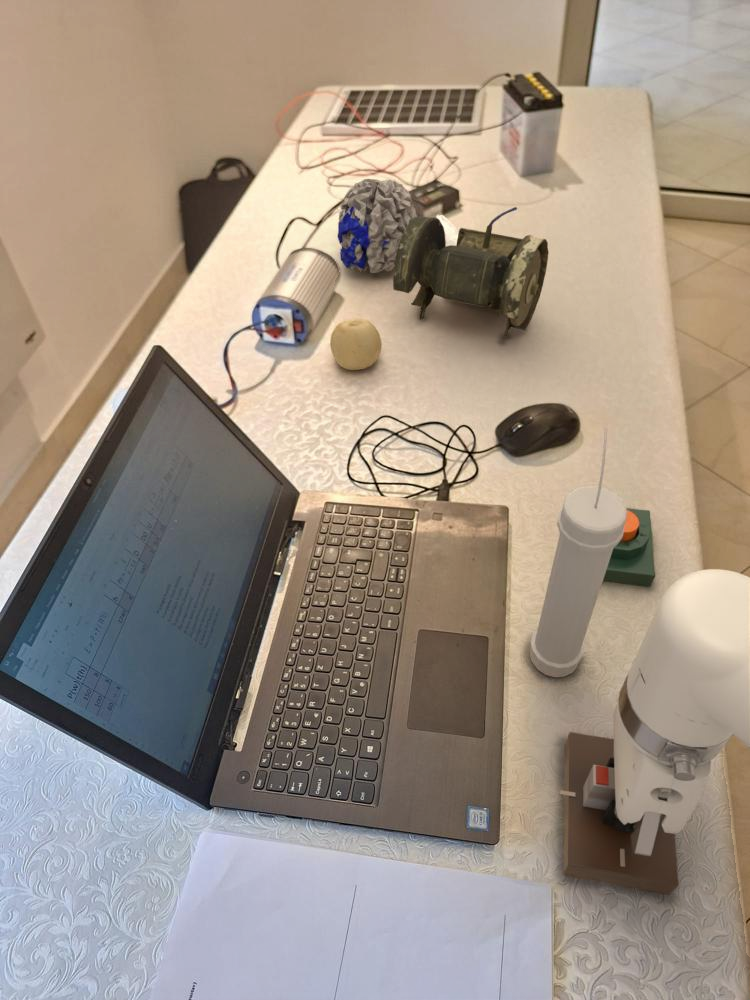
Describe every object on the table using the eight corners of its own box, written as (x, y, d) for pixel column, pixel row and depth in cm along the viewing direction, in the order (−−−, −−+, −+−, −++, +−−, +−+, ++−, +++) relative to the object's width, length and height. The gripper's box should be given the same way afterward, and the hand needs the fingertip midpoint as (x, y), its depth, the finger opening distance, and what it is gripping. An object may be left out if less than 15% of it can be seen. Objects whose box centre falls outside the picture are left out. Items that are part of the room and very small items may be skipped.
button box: (650, 587, 84) (659, 566, 81) (579, 578, 85) (585, 557, 82) (645, 522, 90) (653, 500, 87) (579, 514, 91) (585, 493, 89)
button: (636, 543, 83) (640, 534, 82) (604, 540, 84) (607, 530, 83) (635, 520, 86) (638, 510, 85) (603, 516, 86) (606, 507, 85)
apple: (346, 383, 110) (323, 338, 107) (342, 372, 118) (320, 329, 115) (392, 359, 110) (370, 313, 107) (385, 349, 117) (364, 306, 114)
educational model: (339, 296, 138) (321, 248, 124) (356, 207, 143) (340, 151, 129) (411, 300, 135) (401, 250, 121) (425, 209, 140) (417, 152, 126)
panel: (679, 897, 62) (690, 887, 60) (552, 873, 64) (557, 862, 61) (668, 761, 70) (677, 748, 68) (555, 743, 72) (560, 729, 69)
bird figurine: (422, 251, 139) (444, 263, 131) (426, 213, 136) (448, 223, 128) (446, 250, 141) (469, 262, 133) (449, 213, 137) (473, 223, 129)
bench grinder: (509, 358, 108) (550, 217, 100) (377, 317, 115) (405, 182, 106) (538, 341, 125) (575, 220, 117) (422, 307, 132) (449, 190, 124)
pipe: (527, 677, 77) (574, 480, 54) (527, 626, 81) (570, 424, 59) (581, 682, 76) (650, 485, 54) (578, 631, 80) (641, 429, 58)
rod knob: (657, 799, 65) (673, 776, 61) (659, 819, 64) (675, 797, 60) (583, 786, 66) (593, 763, 62) (583, 806, 65) (593, 784, 61)
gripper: (749, 838, 45) (671, 911, 59) (718, 617, 56) (657, 723, 69) (625, 815, 46) (576, 893, 60) (617, 604, 57) (577, 710, 71)
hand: (620, 801), depth 64 cm, fingers open, 3 cm apart
